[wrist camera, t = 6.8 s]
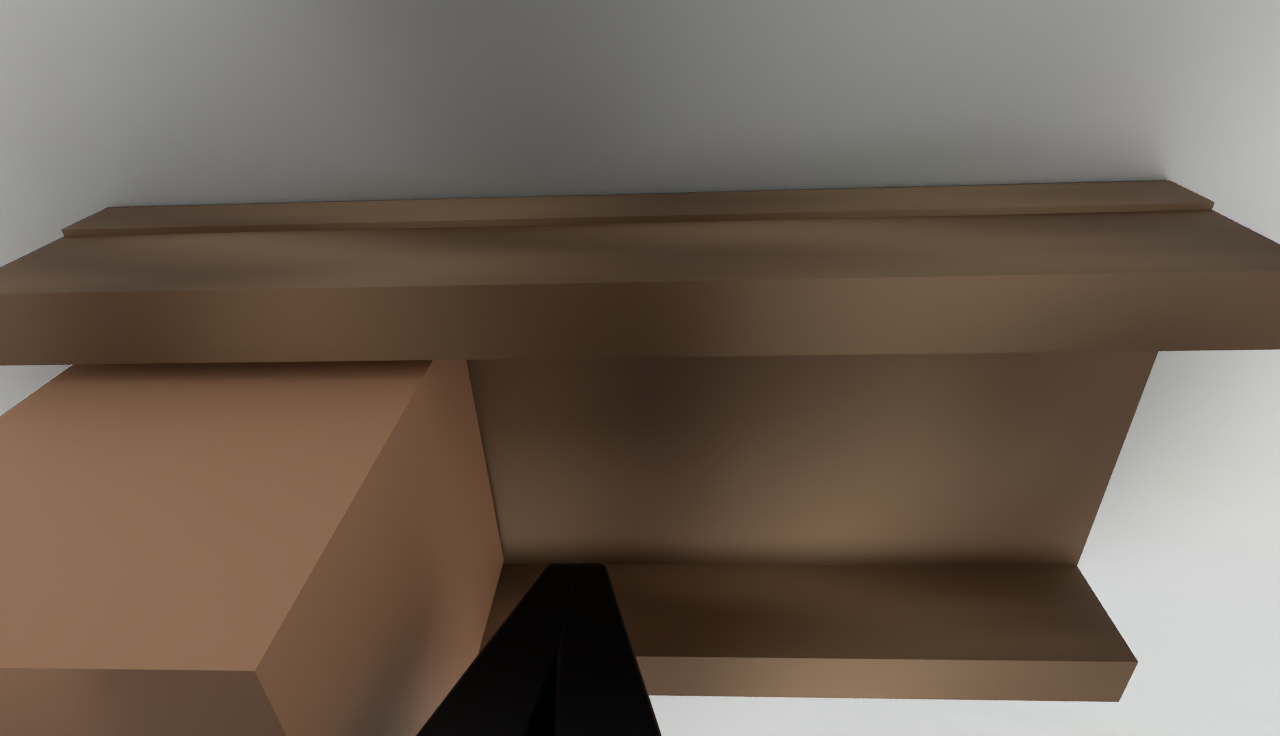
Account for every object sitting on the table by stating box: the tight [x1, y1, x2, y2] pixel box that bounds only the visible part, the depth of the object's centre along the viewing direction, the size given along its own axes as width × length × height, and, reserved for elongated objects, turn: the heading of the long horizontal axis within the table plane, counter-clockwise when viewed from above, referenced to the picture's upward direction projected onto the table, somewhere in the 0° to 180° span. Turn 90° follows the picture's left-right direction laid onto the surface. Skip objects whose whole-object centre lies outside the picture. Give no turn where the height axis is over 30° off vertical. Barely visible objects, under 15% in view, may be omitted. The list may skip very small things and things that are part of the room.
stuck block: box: [0, 360, 504, 736], centre depth 10 cm, size 5×5×6 cm
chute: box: [0, 181, 1280, 702], centre depth 12 cm, size 16×8×3 cm, turn 92°
